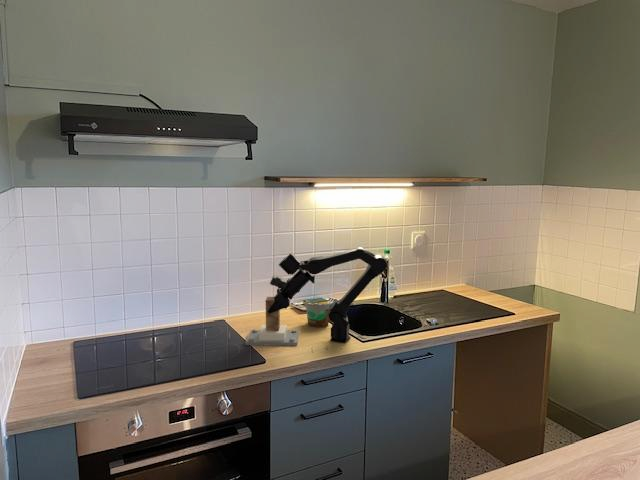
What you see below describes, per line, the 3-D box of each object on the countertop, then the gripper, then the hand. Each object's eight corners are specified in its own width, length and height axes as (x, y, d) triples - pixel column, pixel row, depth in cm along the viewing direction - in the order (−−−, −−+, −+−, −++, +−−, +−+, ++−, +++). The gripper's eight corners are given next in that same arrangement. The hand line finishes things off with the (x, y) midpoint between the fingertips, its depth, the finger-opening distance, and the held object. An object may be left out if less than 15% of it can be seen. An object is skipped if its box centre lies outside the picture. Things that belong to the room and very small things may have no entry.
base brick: (299, 333, 206) (299, 323, 205) (297, 345, 192) (297, 335, 191) (250, 332, 206) (250, 323, 205) (245, 345, 192) (245, 334, 191)
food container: (299, 325, 216) (299, 303, 214) (306, 321, 221) (306, 299, 220) (324, 329, 210) (324, 306, 208) (331, 325, 215) (331, 303, 214)
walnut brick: (279, 326, 201) (279, 296, 199) (278, 331, 196) (278, 300, 194) (267, 326, 201) (267, 296, 199) (266, 330, 196) (265, 300, 194)
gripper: (284, 263, 204) (257, 289, 206) (279, 273, 185) (251, 302, 187) (303, 282, 205) (277, 308, 207) (301, 294, 186) (272, 322, 188)
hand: (269, 309), depth 197 cm, fingers open, 7 cm apart
